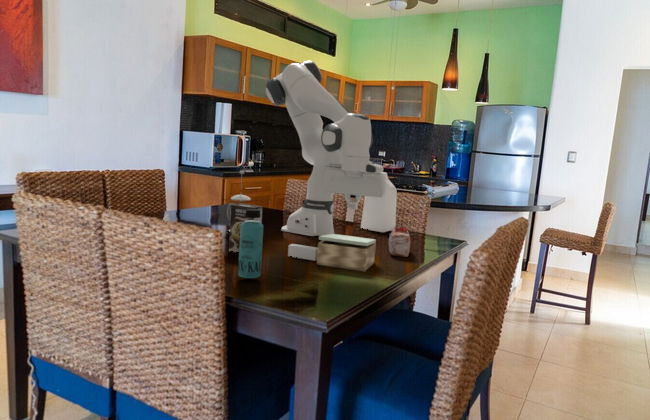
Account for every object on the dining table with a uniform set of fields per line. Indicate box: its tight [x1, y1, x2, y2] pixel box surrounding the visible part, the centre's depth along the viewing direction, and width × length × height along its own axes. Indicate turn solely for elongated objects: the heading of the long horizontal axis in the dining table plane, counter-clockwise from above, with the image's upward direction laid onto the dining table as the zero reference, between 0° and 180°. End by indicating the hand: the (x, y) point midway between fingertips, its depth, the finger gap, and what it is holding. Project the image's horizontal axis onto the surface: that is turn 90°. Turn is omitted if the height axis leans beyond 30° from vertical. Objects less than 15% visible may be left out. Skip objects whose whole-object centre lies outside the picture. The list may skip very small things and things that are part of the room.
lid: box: [318, 233, 377, 246], centre depth 165 cm, size 16×13×1 cm
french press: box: [226, 170, 252, 232], centre depth 203 cm, size 10×12×25 cm
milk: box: [360, 171, 398, 233], centre depth 232 cm, size 12×12×26 cm
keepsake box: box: [316, 240, 377, 273], centre depth 165 cm, size 16×12×7 cm
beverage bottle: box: [237, 209, 264, 279], centre depth 139 cm, size 6×7×20 cm
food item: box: [388, 226, 411, 258], centre depth 185 cm, size 14×8×10 cm, turn 175°
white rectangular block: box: [287, 243, 318, 262], centre depth 170 cm, size 10×3×4 cm, turn 68°
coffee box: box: [228, 202, 264, 253], centre depth 171 cm, size 9×6×16 cm
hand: (352, 208), depth 161 cm, fingers closed
